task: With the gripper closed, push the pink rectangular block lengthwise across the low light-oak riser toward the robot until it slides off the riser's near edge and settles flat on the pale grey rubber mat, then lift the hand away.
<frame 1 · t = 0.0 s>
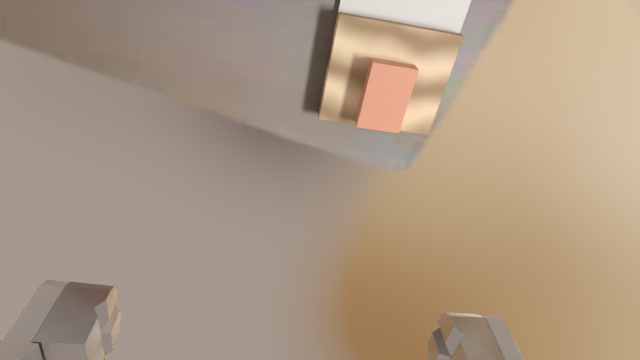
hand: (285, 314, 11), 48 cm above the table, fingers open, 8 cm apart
pink rectangular block: (383, 93, 56), point 2 cm above the table, touching riser
riser: (385, 74, 57), on the table
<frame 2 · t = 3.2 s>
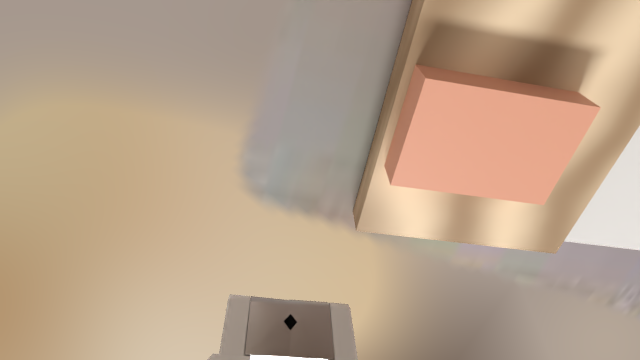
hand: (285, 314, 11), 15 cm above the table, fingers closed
pink rectangular block: (476, 130, 23), point 2 cm above the table, touching riser
riser: (496, 120, 25), on the table
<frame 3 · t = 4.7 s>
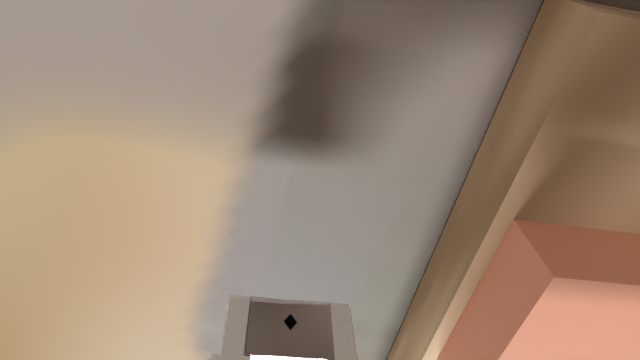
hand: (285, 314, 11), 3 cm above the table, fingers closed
pink rectangular block: (605, 310, 13), point 2 cm above the table, touching riser
riser: (620, 269, 15), on the table
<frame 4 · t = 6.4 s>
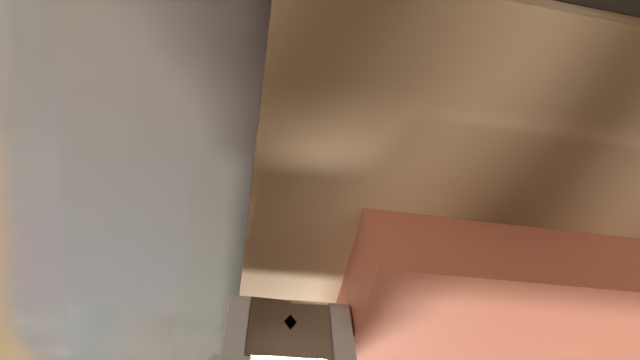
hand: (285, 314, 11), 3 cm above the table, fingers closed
pink rectangular block: (488, 305, 12), point 2 cm above the table, touching gripper, riser
riser: (458, 257, 14), on the table
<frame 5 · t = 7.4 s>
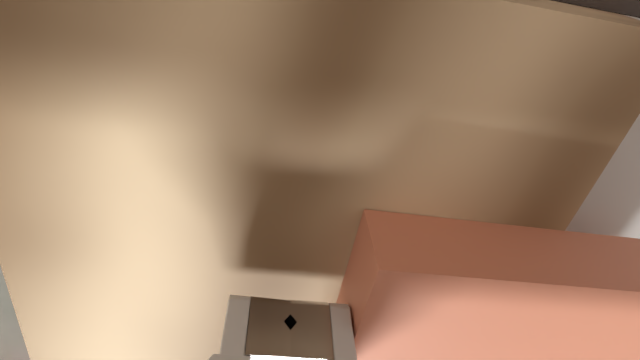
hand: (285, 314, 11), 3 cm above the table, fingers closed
pink rectangular block: (488, 305, 12), point 2 cm above the table, touching gripper, riser
riser: (282, 240, 13), on the table
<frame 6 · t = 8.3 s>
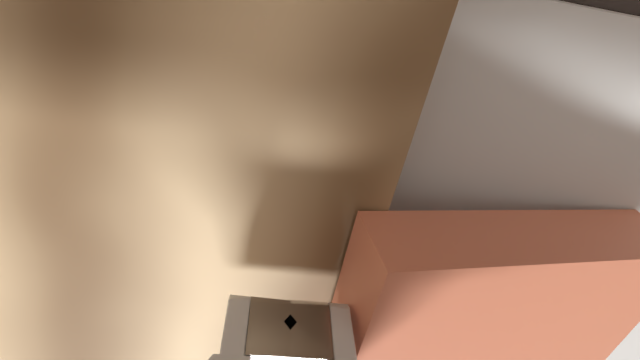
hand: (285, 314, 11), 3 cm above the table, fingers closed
pink rectangular block: (471, 286, 13), point 1 cm above the table, tilted 11°, touching gripper
mat: (548, 264, 14), on the table
riser: (123, 223, 12), on the table
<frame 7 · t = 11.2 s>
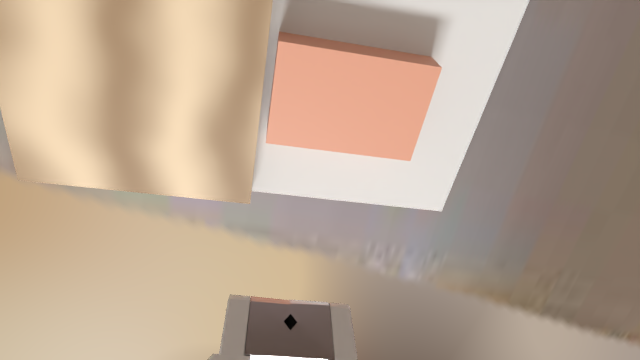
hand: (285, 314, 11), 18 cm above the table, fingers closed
pink rectangular block: (346, 93, 26), resting on mat
mat: (376, 93, 26), on the table
riser: (141, 58, 24), on the table
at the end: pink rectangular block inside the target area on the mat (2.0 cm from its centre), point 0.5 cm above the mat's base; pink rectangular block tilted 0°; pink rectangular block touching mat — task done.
